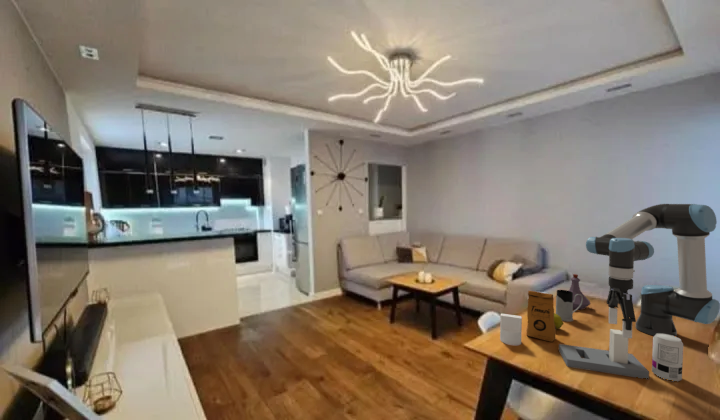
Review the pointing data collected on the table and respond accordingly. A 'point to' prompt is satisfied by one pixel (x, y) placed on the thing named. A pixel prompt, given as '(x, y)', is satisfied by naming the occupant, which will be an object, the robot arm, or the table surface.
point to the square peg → (618, 347)
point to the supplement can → (667, 357)
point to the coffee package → (541, 316)
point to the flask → (576, 290)
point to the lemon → (558, 321)
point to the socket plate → (601, 361)
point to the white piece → (510, 329)
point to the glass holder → (565, 304)
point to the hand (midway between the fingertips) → (619, 330)
